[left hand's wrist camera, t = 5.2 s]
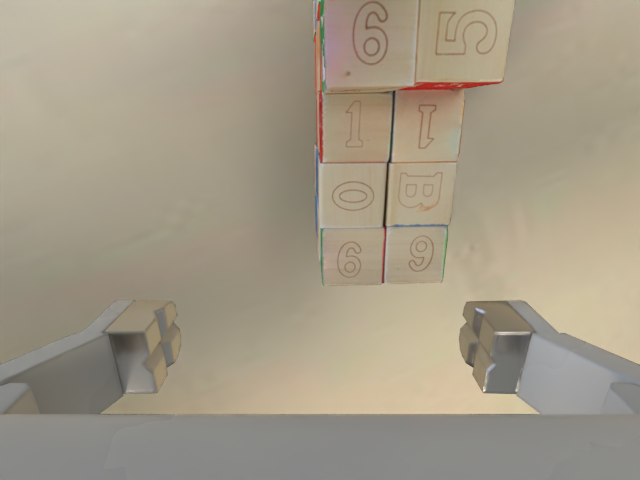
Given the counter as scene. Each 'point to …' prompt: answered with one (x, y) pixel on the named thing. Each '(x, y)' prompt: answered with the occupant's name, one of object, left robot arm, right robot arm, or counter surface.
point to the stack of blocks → (395, 128)
